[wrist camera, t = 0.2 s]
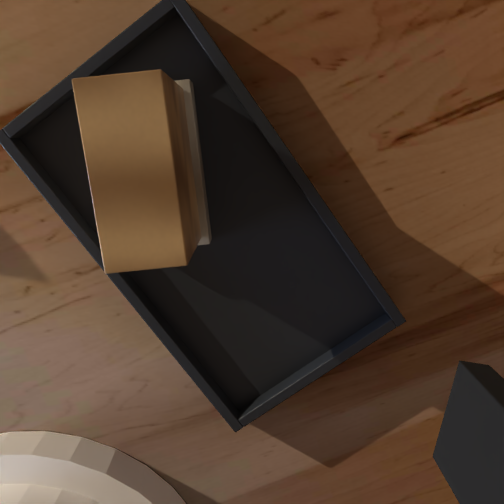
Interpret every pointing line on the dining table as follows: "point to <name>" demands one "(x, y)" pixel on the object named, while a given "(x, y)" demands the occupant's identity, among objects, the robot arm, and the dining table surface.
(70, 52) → the dining table surface
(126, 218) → the eraser
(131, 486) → the cake
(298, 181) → the tray
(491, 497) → the robot arm
